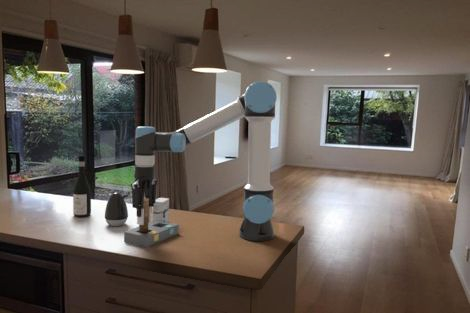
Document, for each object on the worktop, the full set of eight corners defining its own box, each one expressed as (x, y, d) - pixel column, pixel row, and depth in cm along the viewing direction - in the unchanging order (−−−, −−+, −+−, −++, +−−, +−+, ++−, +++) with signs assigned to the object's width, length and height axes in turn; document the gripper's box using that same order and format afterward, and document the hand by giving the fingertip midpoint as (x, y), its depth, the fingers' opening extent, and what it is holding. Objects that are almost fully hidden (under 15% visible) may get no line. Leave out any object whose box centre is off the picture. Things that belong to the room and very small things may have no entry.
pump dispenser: (124, 228, 165) (124, 195, 164) (101, 227, 165) (101, 194, 164) (131, 222, 176) (131, 190, 174) (109, 221, 175) (109, 189, 174)
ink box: (162, 227, 169) (162, 202, 168) (152, 226, 170) (152, 201, 169) (169, 222, 177) (169, 198, 176) (159, 221, 178) (159, 197, 177)
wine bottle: (84, 218, 179) (84, 156, 176) (70, 217, 180) (69, 155, 177) (94, 214, 187) (93, 155, 184) (79, 213, 188) (79, 154, 185)
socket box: (178, 233, 161) (178, 223, 160) (147, 247, 143) (148, 236, 143) (156, 228, 166) (156, 219, 166) (124, 241, 149) (124, 231, 148)
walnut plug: (150, 231, 151) (150, 198, 149) (144, 234, 147) (144, 199, 146) (143, 230, 152) (143, 196, 151) (137, 232, 149) (137, 198, 148)
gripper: (151, 162, 156) (150, 217, 158) (122, 166, 141) (122, 226, 144) (165, 164, 153) (164, 219, 155) (137, 168, 138) (136, 229, 140)
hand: (144, 223), depth 149 cm, fingers closed on walnut plug, 3 cm apart
